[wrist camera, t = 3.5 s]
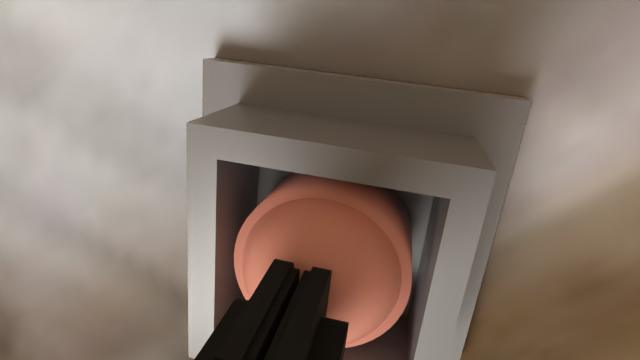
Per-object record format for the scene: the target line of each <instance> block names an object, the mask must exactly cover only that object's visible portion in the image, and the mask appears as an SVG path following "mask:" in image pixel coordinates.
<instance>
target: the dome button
mask: <svg viewBox="0 0 640 360" xmlns="http://www.w3.org/2000/svg"><path fill="white" fill-rule="evenodd" d="M274 259H279V260H284V261H289V262H293V263H294V268H298V269H300V276H299V281H300V279H301V277H302V274H303V272H304V270H307V271H311V269H312V267H318V268H323V269H328V270H332V275H331V283H330V291H329V298H328V306H327V313H326V317H327V318H331V319H336V320H340V321H345V322H349V326H348V333H347V339H346V346H345V348H348V347H354V346H357V345H361V344H364V343H367V342H369V341H371V340H374V339H375V338H377V337H379V336H380V335H382V334H383V333H385V332H386V331H387V330H388V329H390V328H391V327H392V326H393V325H394V324H395V322H396V321H397V320H398V319H399V317H400V316H401V314H402V313H403V311H404V309H405V307H406V305H407V303H408V299H409V296H410V293H411V285H412V228H411V222H410V218H409V215H408V212H407V210H406V208H405V206H404V204H403V202H402V200H401V199H400V197H399V196H398V194H397V193H396V192H395V191H394V190H393V189H389V188H383V187H377V186H371V185H365V184H359V183H354V182H348V181H342V180H336V179H330V178H324V177H318V176H312V175H306V174H300V173H295V172H292V173H290V174H288V175H287V176H286V177H285V178H284V179H282V180H281V181H280V182H279V183H278V184H277V186H276V187H275V188H274V189H273V190H272V191H271V192H270V193H269V194H268V195H267V196H266V198H265V199H264V200H263V201H262V202H261V203H260V204H259V205H258V206H257V207H256V208H255V209H254V211H253V212H252V213H251V214H250V215H249V216H248V217H247V219H246V220H245V222H244V223H243V225H242V227H241V229H240V231H239V234H238V236H237V239H236V243H235V249H234V268H235V274H236V278H237V281H238V285H239V287H240V289H241V292H242V294H243V296H244V297H245V299H246V300H249V299H250V298H251V296H252V294H253V293H254V291H255V290H256V288H257V286H258V285H259V283H260V281H261V280H262V278H263V277H264V275H265V273H266V272H267V270H268V268H269V267H270V265H271V264H272V262H273V260H274Z"/></svg>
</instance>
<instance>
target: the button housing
mask: <svg viewBox="0 0 640 360" xmlns="http://www.w3.org/2000/svg"><path fill="white" fill-rule="evenodd" d="M531 103H532V101H530V100H528V99H527V98H525V97H517V96H509V95H501V94H494V93H486V92H478V91H470V90H462V89H454V88H447V87H439V86H431V85H423V84H415V83H407V82H400V81H392V80H384V79H376V78H368V77H360V76H353V75H345V74H337V73H329V72H321V71H313V70H306V69H298V68H290V67H282V66H274V65H266V64H258V63H251V62H243V61H235V60H227V59H219V58H208V59H203V117H200V118H198V119H195V120H192V121H190V122H187V231H188V357H190V358H194V359H195V358H196V356H197V355H198V353H199V352H200V350H201V349H202V347H203V346H204V344H205V343H206V341H207V340H208V339H209V337H210V336H211V334H212V333H213V331H214V330H215V328H216V327H217V325H218V324H219V322H220V321H221V319H222V318H223V316H224V315H225V313H226V312H227V310H228V309H229V307H230V306H231V304H232V303H233V301H234V300H235V299H237V298H241V299H245V297H244V296H243V294H242V292H241V289H240V287H239V285H238V281H237V278H236V274H235V268H234V249H235V243H236V239H237V236H238V234H239V231H240V229H241V227H242V225H243V223H244V222H245V220H246V219H247V217H248V216H249V215H250V214H251V213H252V212H253V211H254V209H255V208H256V207H257V206H258V205H259V204H260V203H261V202H262V201H263V200H264V199H265V198H266V196H267V195H268V194H269V193H270V192H271V191H272V190H273V189H274V188H275V187H276V186H277V184H278V183H279V182H280V181H281V180H282V179H284V178H285V177H286V176H287V175H288V174H290V173H292V172H295V173H300V174H306V175H312V176H318V177H324V178H330V179H336V180H342V181H348V182H354V183H359V184H365V185H371V186H377V187H383V188H389V189H393V190H394V191H395V192H396V193H397V194H398V196H399V197H400V199H401V200H402V202H403V204H404V206H405V208H406V210H407V212H408V215H409V218H410V222H411V228H412V285H411V293H410V296H409V299H408V303H407V305H406V307H405V309H404V311H403V313H402V314H401V316H400V317H399V319H398V320H397V321H396V322H395V324H394V325H393V326H392V327H391V328H390V329H388V330H387V331H386V332H385V333H383V334H382V335H380V336H379V337H377V338H375V339H374V340H371V341H369V342H367V343H364V344H361V345H357V346H354V347H348V348H345V352H344V357H343V360H460V358H461V354H462V351H463V347H464V344H465V340H466V336H467V333H468V329H469V326H470V322H471V318H472V315H473V311H474V308H475V304H476V301H477V297H478V293H479V290H480V286H481V283H482V279H483V275H484V272H485V268H486V265H487V261H488V258H489V254H490V250H491V247H492V243H493V240H494V236H495V232H496V229H497V225H498V222H499V218H500V214H501V211H502V207H503V204H504V200H505V197H506V193H507V189H508V186H509V182H510V179H511V175H512V171H513V168H514V164H515V161H516V157H517V154H518V150H519V146H520V143H521V139H522V136H523V132H524V128H525V125H526V121H527V118H528V114H529V110H530V107H531Z"/></svg>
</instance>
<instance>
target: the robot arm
mask: <svg viewBox="0 0 640 360" xmlns="http://www.w3.org/2000/svg"><path fill="white" fill-rule="evenodd" d="M331 275H332V270H328V269H323V268H318V267H312V269H311V271H307V270H304V272H303V274H302V277H301V279H300V281H299V276H300V269H298V268H294V263H293V262H289V261H284V260H279V259H274V260H273V262H272V264H271V265H270V267H269V268H268V270H267V272H266V273H265V275H264V277H263V278H262V280H261V281H260V283H259V285H258V286H257V288H256V290H255V291H254V293H253V294H252V296H251V298H250V299H249V300H246V299H241V298H237V299H235V300H234V301H233V303H232V304H231V306H230V307H229V309H228V310H227V312H226V313H225V315H224V316H223V318H222V319H221V321H220V322H219V324H218V325H217V327H216V328H215V330H214V331H213V333H212V334H211V336H210V337H209V339H208V340H207V341H206V343H205V344H204V346H203V347H202V349H201V350H200V352H199V353H198V355H197V356H196V358H195V359H194V360H343V357H344V352H345V346H346V339H347V333H348V326H349V322H345V321H340V320H336V319H331V318H327V317H326V313H327V306H328V298H329V291H330V283H331Z"/></svg>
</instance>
